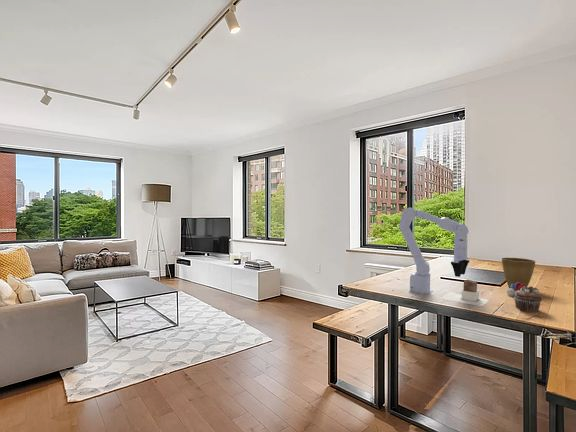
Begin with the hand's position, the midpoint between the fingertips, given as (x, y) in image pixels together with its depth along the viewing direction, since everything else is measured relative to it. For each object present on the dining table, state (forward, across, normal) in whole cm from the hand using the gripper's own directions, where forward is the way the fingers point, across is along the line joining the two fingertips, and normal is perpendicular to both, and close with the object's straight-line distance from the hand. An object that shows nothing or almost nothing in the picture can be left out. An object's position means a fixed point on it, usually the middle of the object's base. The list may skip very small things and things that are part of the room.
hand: (459, 275), depth 165 cm
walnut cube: (+6, -5, -6) cm, 10 cm away
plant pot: (+10, +35, -19) cm, 41 cm away
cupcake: (+10, -4, -28) cm, 30 cm away
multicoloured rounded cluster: (+10, +17, -22) cm, 30 cm away
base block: (+10, -5, -6) cm, 12 cm away
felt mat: (+10, -7, -4) cm, 13 cm away
